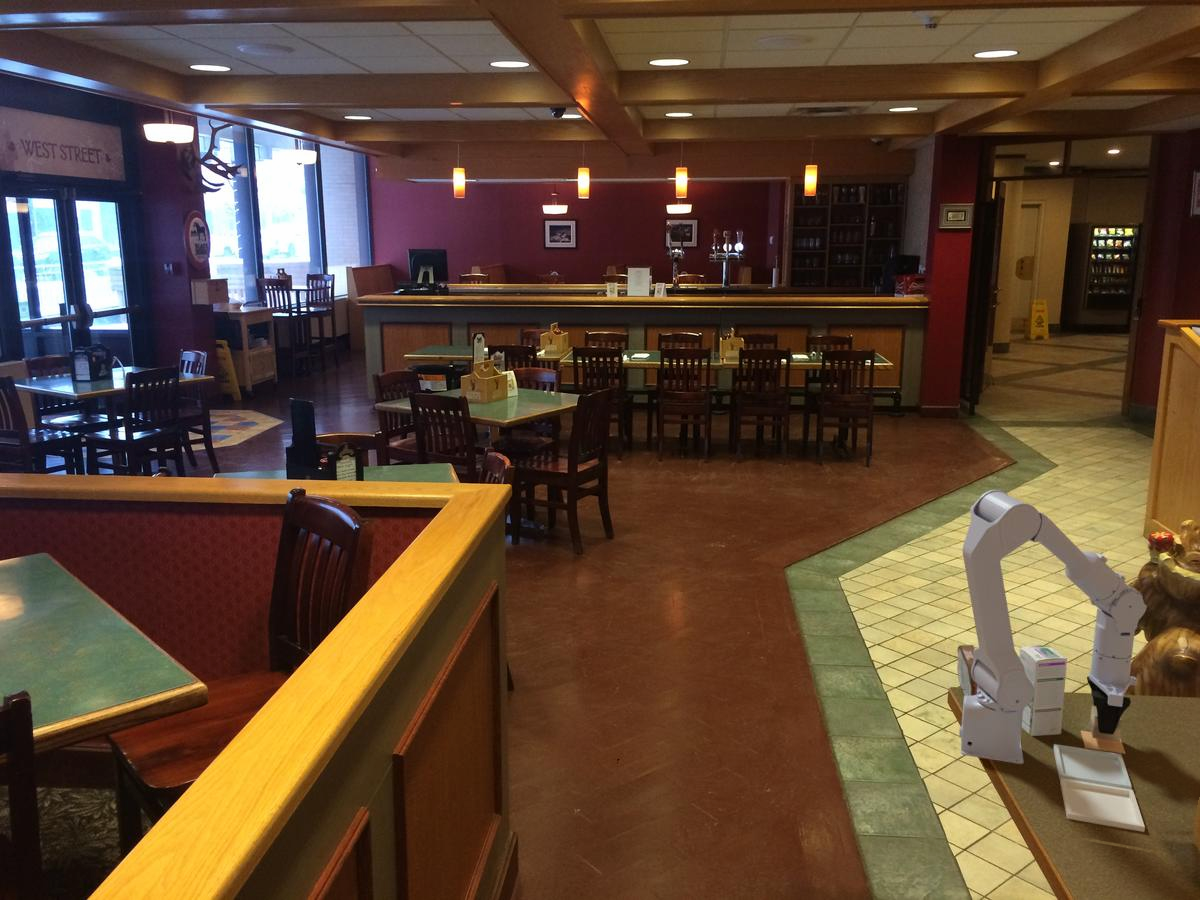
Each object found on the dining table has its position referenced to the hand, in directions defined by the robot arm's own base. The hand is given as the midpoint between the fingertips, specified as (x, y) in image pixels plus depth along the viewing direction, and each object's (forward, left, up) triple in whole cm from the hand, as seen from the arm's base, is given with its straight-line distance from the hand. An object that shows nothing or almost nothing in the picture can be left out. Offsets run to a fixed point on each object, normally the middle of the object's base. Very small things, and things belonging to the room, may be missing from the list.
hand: (1104, 726), depth 159 cm
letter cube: (0, 0, -1) cm, 1 cm away
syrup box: (-10, +2, -3) cm, 11 cm away
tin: (-21, +12, -3) cm, 24 cm away
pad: (0, 0, -3) cm, 3 cm away
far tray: (-3, -10, -3) cm, 11 cm away
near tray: (-3, -21, -3) cm, 21 cm away
